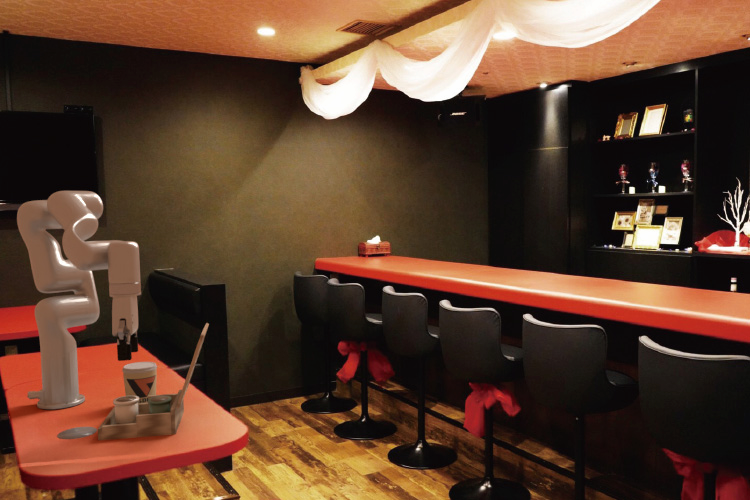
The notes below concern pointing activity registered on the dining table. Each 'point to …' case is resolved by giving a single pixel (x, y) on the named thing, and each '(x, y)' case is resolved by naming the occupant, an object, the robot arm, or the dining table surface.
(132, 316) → the robot arm
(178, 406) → the frame lid
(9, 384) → the dining table surface
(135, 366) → the coffee cup
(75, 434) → the slate saucer
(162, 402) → the green pot
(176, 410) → the box
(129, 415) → the cream pot
